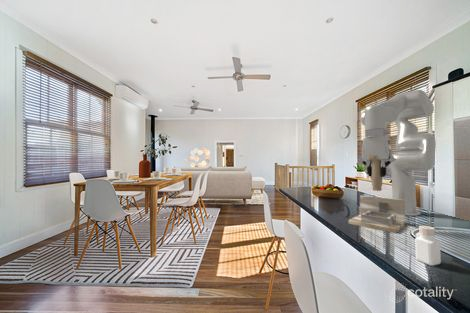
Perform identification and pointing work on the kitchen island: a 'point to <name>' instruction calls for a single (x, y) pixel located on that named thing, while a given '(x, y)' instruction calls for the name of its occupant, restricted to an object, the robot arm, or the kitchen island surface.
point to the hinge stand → (380, 214)
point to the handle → (376, 173)
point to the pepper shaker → (427, 246)
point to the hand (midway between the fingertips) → (376, 176)
